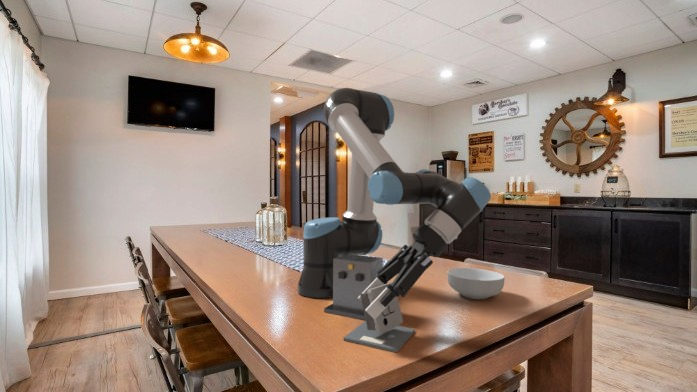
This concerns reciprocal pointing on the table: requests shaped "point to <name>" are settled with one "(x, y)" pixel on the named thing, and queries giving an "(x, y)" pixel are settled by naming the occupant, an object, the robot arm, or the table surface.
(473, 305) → the table surface
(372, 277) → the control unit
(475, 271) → the cereal bowl
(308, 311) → the table surface
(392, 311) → the electrical switch
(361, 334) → the pad
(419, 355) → the table surface
